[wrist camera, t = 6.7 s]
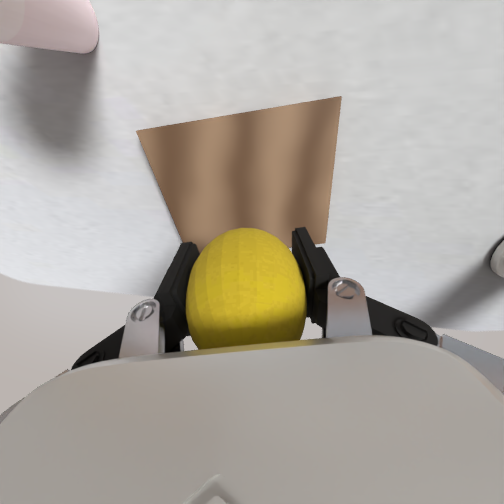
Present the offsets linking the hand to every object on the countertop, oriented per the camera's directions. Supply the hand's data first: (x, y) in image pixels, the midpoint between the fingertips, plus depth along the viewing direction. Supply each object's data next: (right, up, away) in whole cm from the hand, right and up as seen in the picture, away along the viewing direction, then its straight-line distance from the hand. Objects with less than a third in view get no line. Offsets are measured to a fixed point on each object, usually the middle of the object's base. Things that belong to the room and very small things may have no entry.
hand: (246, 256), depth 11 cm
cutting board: (0, +7, +9) cm, 12 cm away
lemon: (0, +1, +1) cm, 2 cm away
